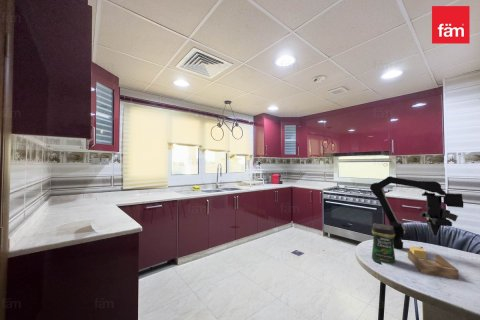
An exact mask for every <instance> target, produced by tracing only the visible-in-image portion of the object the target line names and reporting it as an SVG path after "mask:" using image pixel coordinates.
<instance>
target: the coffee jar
mask: <svg viewBox="0 0 480 320" xmlns="http://www.w3.org/2000/svg"><path fill="white" fill-rule="evenodd" d="M371 234H372V239H373V240H372V251H371V260H373V262H376V263H379V264H382V263H386V264H389V265H390V264H392V265H393V264H396V254H395V248H394V244H393V239H394V237H395V232H394V228H393V226H390V224H383V223H375V222H373V224H372V227H371Z"/></svg>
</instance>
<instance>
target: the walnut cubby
mask: <svg viewBox="0 0 480 320" xmlns="http://www.w3.org/2000/svg"><path fill="white" fill-rule="evenodd" d="M434 256H435V257H434V258H435V259H434V260H429V259H428V260H427V259H422V258H417V257H416V256H415V255H414V254H413V253H412V252H411V251H410V250H407V258H408V260H409V261H410V262H411V263H412V264H413V265H414V266H415V267H416V268H417V270H418V271H419V272H420V273H421V274H426V275H430V276H431V275H432V276H436V277H437V276H438V277H443V278H449V279H454V280H456V279H457V280H459V276H460V275H459V270H458V269H457V268H456V267H455V266H453V264H452V263H450V262H448V261H447V259H445V258H443V256H442V255H440V254H437V253H435V254H434Z"/></svg>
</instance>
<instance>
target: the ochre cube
mask: <svg viewBox="0 0 480 320" xmlns="http://www.w3.org/2000/svg"><path fill="white" fill-rule="evenodd" d="M409 251H411V252H412V253H413V254H414V255H415V256H416V257H417V258H418V259H422V260H427V259H428V258H427V251H426V250H425V249H424V248H423V247H420V246H419V247H418V246H409Z"/></svg>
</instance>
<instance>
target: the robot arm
mask: <svg viewBox="0 0 480 320" xmlns="http://www.w3.org/2000/svg"><path fill="white" fill-rule="evenodd" d="M390 184H395V185H400V186H405V187H412V188H418V189H420V190H423V191H424V192H423V193H422V194H421V196H422V197H426V205H424V208H425V209H426V211H420V213H419V217H420V218H426V219H424V221H425V223H426V225H427V226H428V228H429V229H430V231H431V233H432V235H433V236H437V235H438V233H439V231H440V228H441V227H453V222H456V221H457V220H458V217H459V215H457V214H455V213H451V210H448V209H446V208H444V207H443V205H446V207H450V208H460V209H462V208H464V199H463V194H462V193H448V192H447V191H445V190H444V189H442V184H441V183H440V182H438V181H436V180H416V179H407V178H402V177H396V176H392V175H391V176H390V175H389V176H386V178H384V179H382V180H380V181H379V182H373V183H372V184H371V185H370V187H369V189H370V192H372V193H373V195H374V196H375V197H376V198H377V199H378V202H379V204H380V206H381V208H382V210H383V212H384V214H385V216H386V218H387V220H388V223H389V224H388V225H390V226H393V228H394V232H395V237H394V239H393V244H394V250H395V249H397V250H400V249H402V250H403V249H404V242H403V240H402V238H403V237H404V236H405V234H406V229H407V228H406V226H405V225H404V222H403V221H399V220H398V218H397V216H396V214H395V212H394V211H393V209H392V207H391V205H390V202H389V201H388V199H387V196H386V192H385V189H384V188H385V187H386V186H388V185H390ZM442 199H443V200H442ZM442 201H443V203H442Z"/></svg>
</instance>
